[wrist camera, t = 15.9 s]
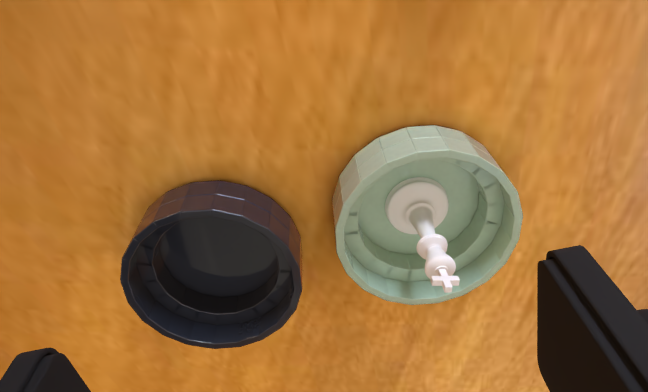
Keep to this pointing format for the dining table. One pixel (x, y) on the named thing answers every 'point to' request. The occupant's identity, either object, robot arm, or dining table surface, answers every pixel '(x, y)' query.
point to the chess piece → (424, 225)
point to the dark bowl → (214, 265)
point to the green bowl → (457, 228)
